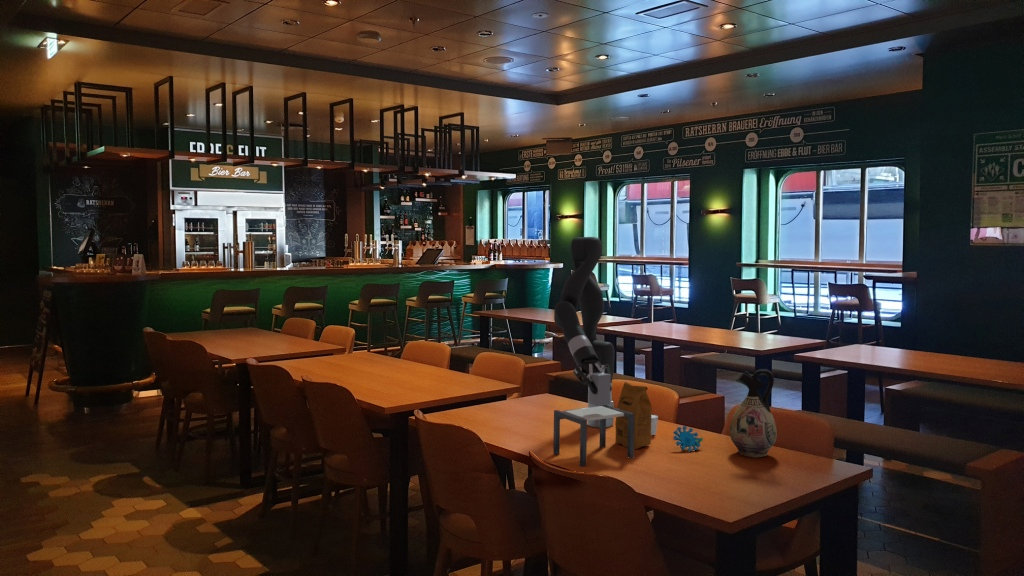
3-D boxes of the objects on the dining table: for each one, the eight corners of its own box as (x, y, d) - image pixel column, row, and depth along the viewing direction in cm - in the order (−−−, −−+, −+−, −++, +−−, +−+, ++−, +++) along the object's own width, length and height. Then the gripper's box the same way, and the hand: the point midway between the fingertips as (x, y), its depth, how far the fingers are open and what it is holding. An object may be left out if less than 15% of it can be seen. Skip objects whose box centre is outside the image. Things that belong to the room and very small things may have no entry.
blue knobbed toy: (677, 448, 264) (672, 423, 271) (670, 457, 268) (666, 432, 275) (707, 451, 266) (701, 426, 273) (700, 460, 270) (694, 435, 277)
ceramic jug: (726, 457, 260) (729, 369, 258) (731, 446, 274) (733, 362, 272) (780, 463, 253) (782, 373, 252) (782, 451, 268) (784, 366, 266)
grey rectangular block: (600, 401, 260) (601, 372, 259) (609, 404, 256) (610, 374, 255) (588, 402, 257) (589, 373, 257) (597, 405, 253) (598, 375, 252)
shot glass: (659, 433, 292) (660, 415, 291) (655, 437, 286) (655, 418, 285) (641, 431, 295) (642, 413, 294) (637, 435, 289) (637, 416, 288)
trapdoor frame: (602, 446, 273) (603, 404, 272) (633, 458, 258) (634, 413, 257) (553, 453, 262) (553, 410, 261) (582, 466, 247) (583, 420, 247)
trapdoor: (600, 408, 269) (600, 405, 269) (623, 416, 258) (623, 412, 258) (562, 413, 261) (562, 410, 261) (584, 421, 250) (584, 417, 250)
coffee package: (631, 439, 283) (632, 379, 281) (654, 446, 272) (656, 385, 271) (610, 442, 278) (611, 382, 276) (633, 450, 267) (634, 388, 266)
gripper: (569, 345, 258) (590, 387, 249) (604, 343, 265) (625, 384, 256) (560, 359, 263) (580, 400, 253) (594, 356, 270) (615, 396, 261)
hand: (602, 392), depth 255 cm, fingers closed on grey rectangular block, 5 cm apart
